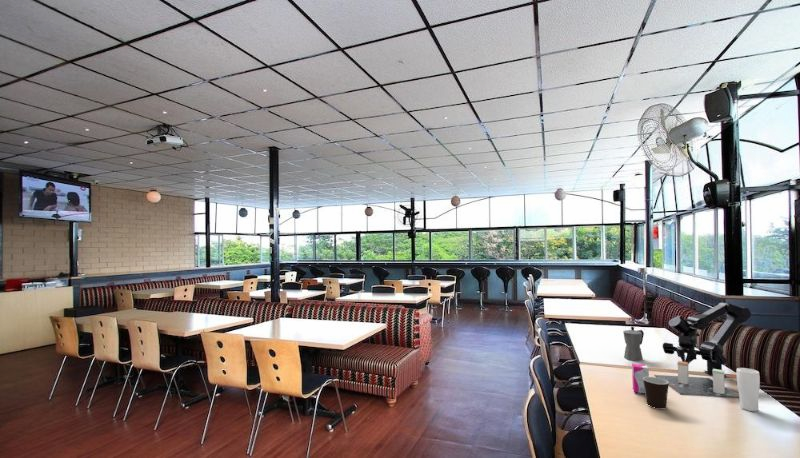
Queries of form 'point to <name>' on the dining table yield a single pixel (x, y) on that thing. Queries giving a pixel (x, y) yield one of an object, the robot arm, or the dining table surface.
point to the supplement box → (639, 377)
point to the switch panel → (696, 387)
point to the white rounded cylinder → (748, 388)
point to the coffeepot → (633, 344)
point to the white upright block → (718, 381)
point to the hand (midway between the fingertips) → (684, 366)
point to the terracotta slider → (683, 372)
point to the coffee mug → (656, 391)
